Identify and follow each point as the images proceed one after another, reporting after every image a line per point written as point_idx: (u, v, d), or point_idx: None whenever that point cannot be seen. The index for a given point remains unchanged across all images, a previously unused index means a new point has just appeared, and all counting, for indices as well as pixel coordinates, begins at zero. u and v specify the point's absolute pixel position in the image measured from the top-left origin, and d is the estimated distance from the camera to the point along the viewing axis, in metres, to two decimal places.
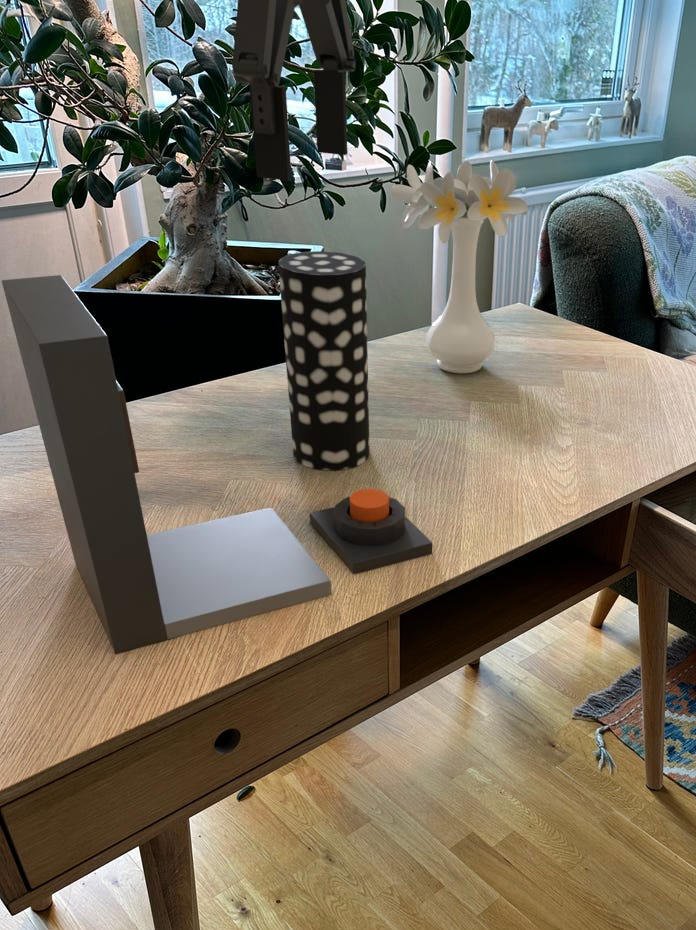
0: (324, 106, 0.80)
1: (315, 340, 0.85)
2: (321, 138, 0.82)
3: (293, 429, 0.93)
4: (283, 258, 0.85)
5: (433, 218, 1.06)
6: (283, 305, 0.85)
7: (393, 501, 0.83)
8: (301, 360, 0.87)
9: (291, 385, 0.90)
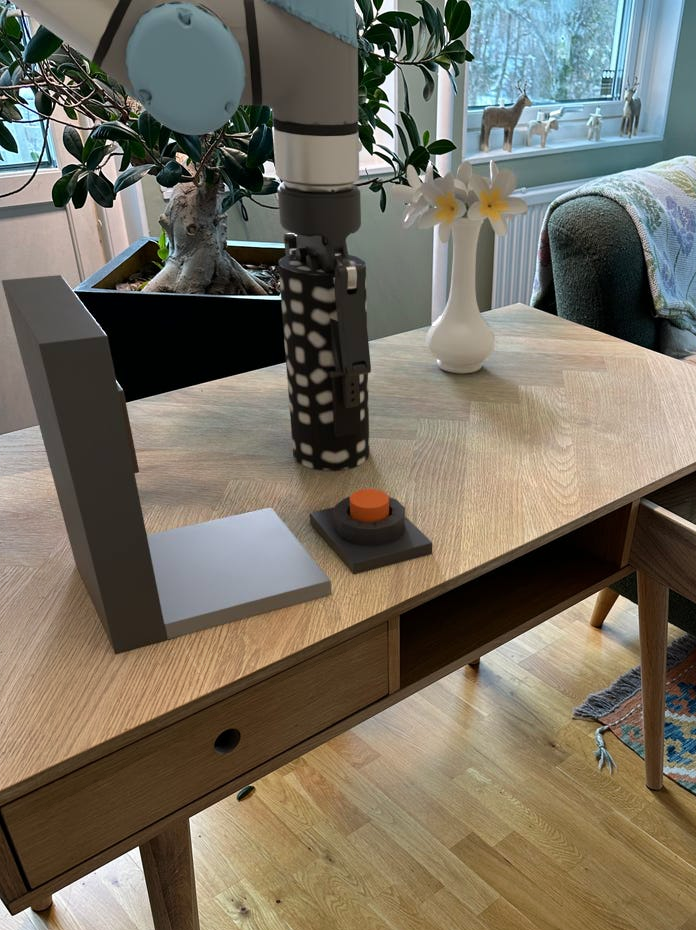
0: None
1: (315, 340, 0.85)
2: None
3: (293, 429, 0.93)
4: (283, 258, 0.85)
5: (433, 218, 1.06)
6: (283, 305, 0.85)
7: (393, 501, 0.83)
8: (301, 360, 0.87)
9: (291, 385, 0.90)
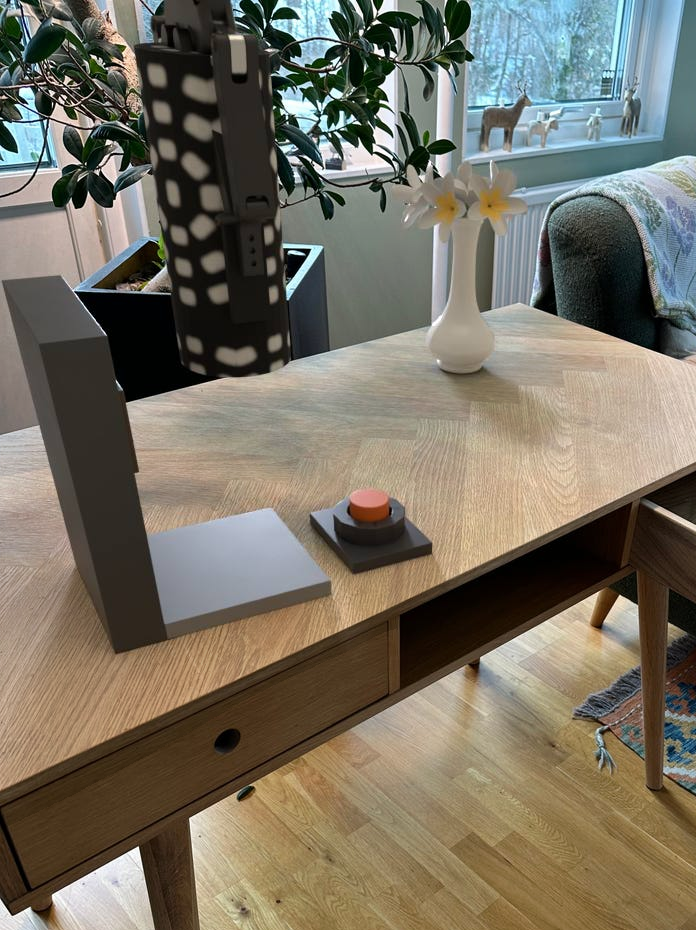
0: None
1: (193, 167, 0.57)
2: None
3: (175, 317, 0.64)
4: (144, 43, 0.56)
5: (433, 217, 1.06)
6: (145, 115, 0.57)
7: (393, 501, 0.83)
8: (175, 202, 0.58)
9: (166, 246, 0.61)
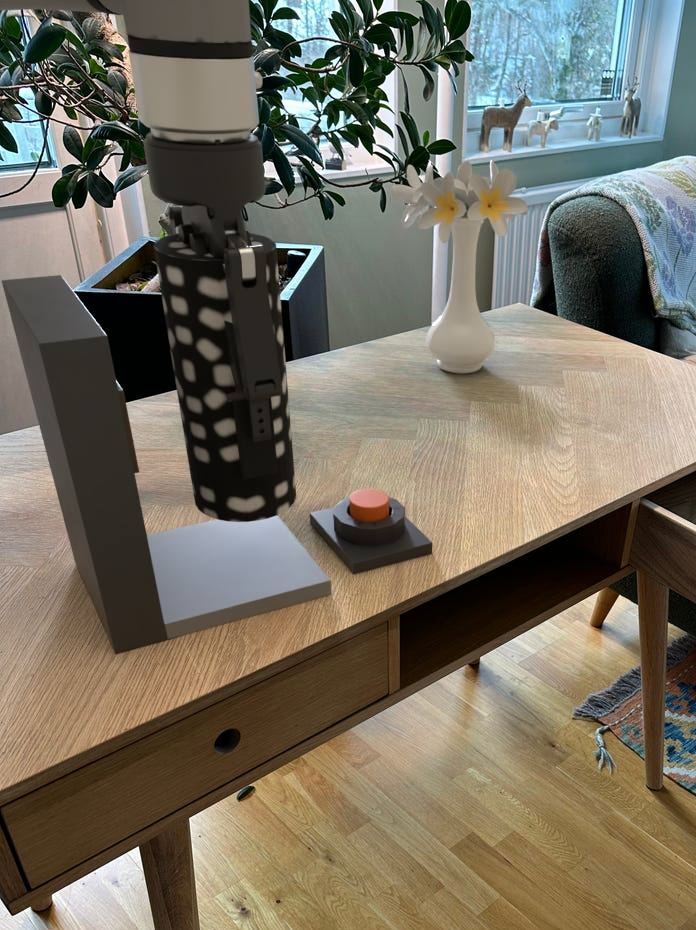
0: None
1: (207, 351, 0.62)
2: None
3: (190, 468, 0.70)
4: (163, 239, 0.62)
5: (433, 217, 1.06)
6: (163, 303, 0.63)
7: (393, 501, 0.83)
8: (191, 378, 0.64)
9: (182, 410, 0.67)
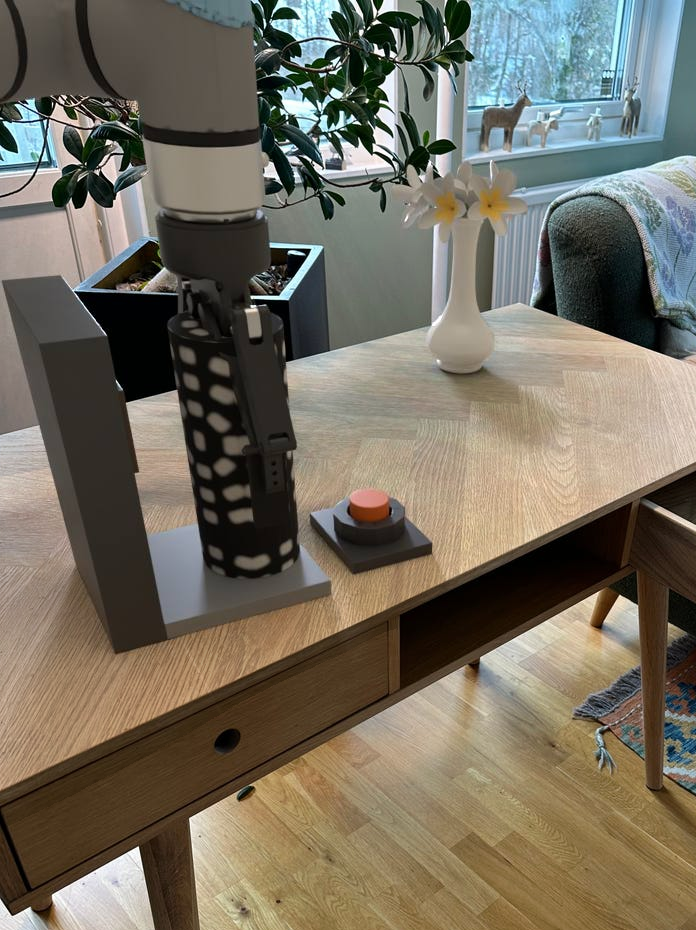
0: None
1: (217, 423, 0.66)
2: None
3: (199, 527, 0.73)
4: (176, 317, 0.66)
5: (433, 217, 1.06)
6: (176, 378, 0.66)
7: (393, 501, 0.83)
8: (201, 447, 0.67)
9: (192, 475, 0.70)
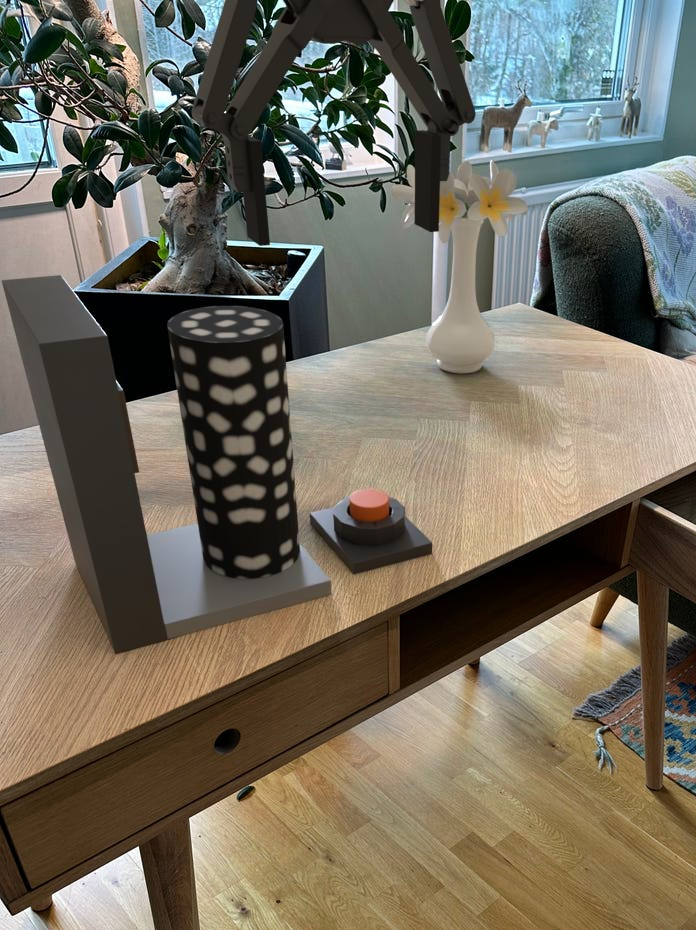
0: None
1: (217, 423, 0.66)
2: None
3: (199, 527, 0.73)
4: (175, 317, 0.66)
5: None
6: (176, 378, 0.66)
7: (393, 501, 0.83)
8: (201, 447, 0.67)
9: (192, 475, 0.70)
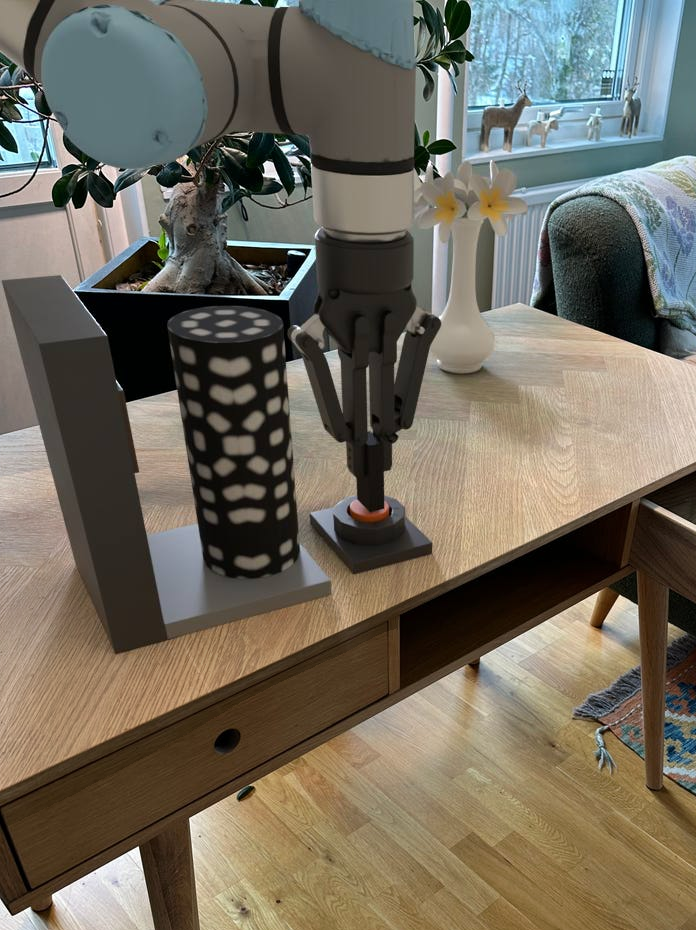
0: None
1: (217, 423, 0.66)
2: None
3: (199, 527, 0.73)
4: (175, 317, 0.66)
5: (433, 217, 1.06)
6: (176, 378, 0.66)
7: (393, 501, 0.83)
8: (201, 447, 0.67)
9: (192, 475, 0.70)
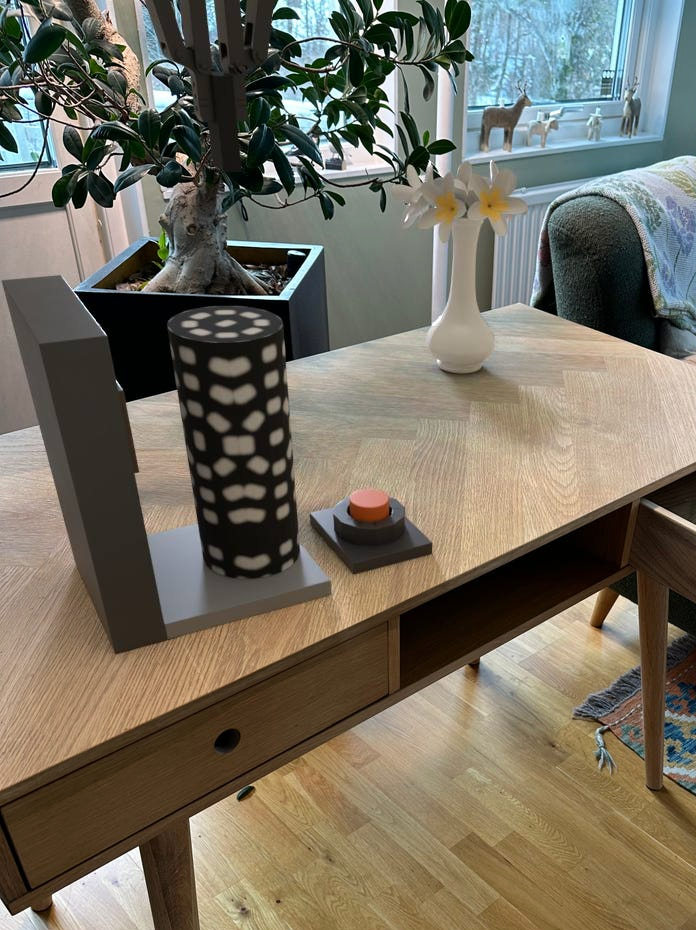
0: None
1: (217, 423, 0.66)
2: None
3: (199, 527, 0.73)
4: (175, 317, 0.66)
5: (433, 217, 1.06)
6: (176, 378, 0.66)
7: (393, 501, 0.83)
8: (201, 447, 0.67)
9: (192, 475, 0.70)
